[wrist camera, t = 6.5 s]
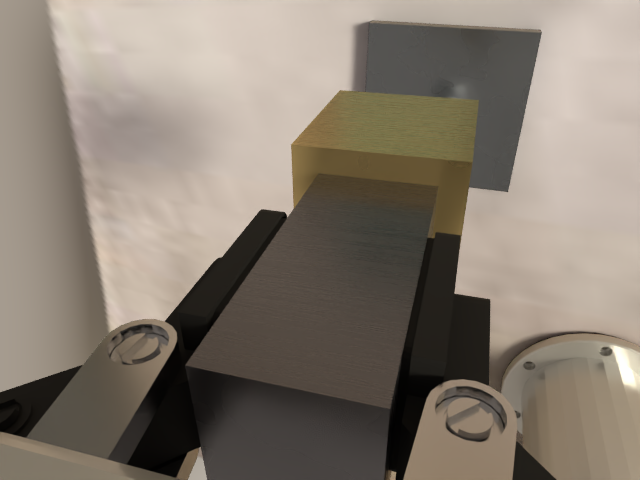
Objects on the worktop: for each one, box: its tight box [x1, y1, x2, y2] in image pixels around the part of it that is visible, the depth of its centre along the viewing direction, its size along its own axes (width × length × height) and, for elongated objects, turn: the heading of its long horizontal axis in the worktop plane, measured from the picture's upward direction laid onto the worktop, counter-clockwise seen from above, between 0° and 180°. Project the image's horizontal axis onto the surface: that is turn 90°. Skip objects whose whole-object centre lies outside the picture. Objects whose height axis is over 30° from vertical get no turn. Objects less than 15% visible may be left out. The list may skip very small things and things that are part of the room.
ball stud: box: [365, 21, 542, 192], centre depth 33 cm, size 10×10×5 cm
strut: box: [185, 90, 479, 480], centre depth 13 cm, size 4×4×12 cm
